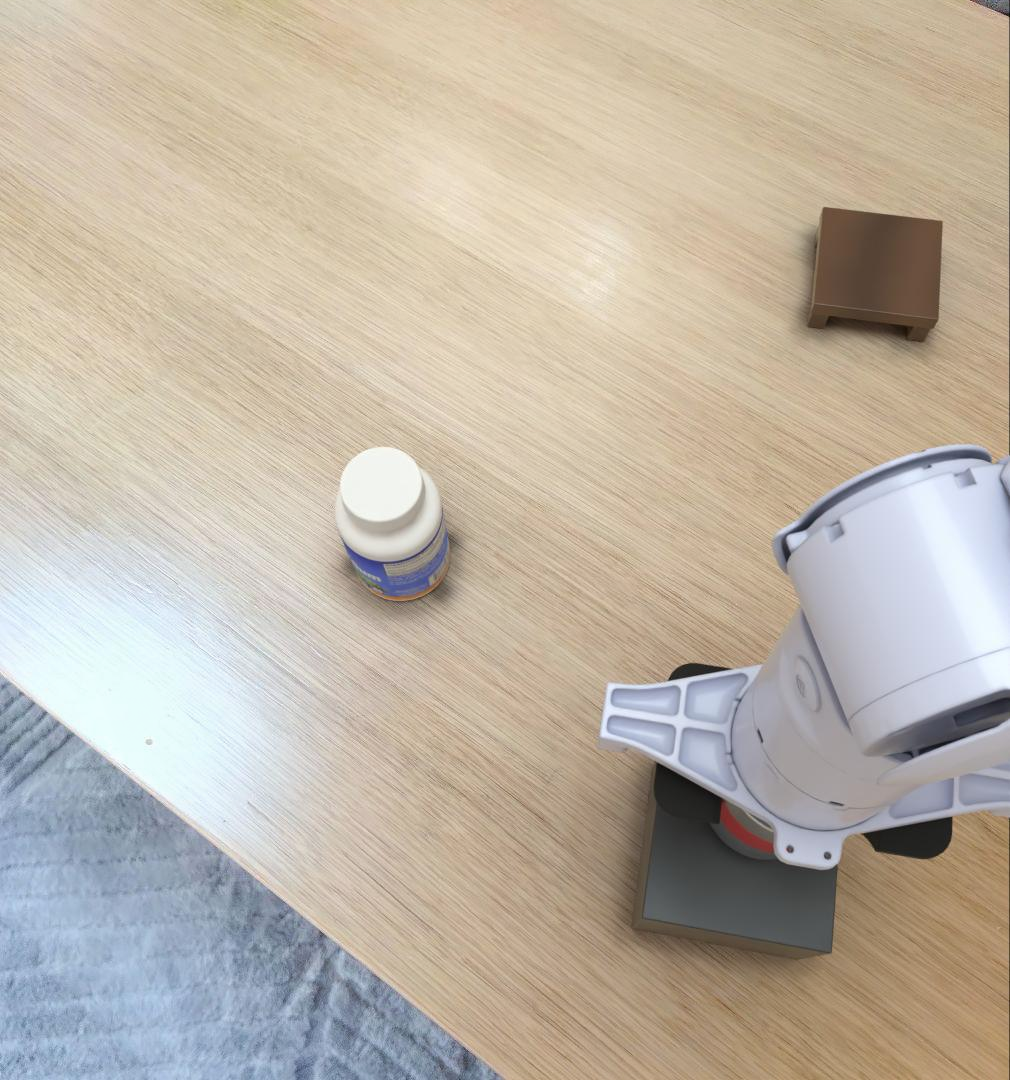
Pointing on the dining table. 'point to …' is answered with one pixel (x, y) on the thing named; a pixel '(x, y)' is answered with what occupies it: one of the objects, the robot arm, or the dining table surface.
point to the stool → (877, 270)
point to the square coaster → (728, 892)
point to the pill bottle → (392, 524)
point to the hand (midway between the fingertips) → (769, 791)
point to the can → (745, 832)
